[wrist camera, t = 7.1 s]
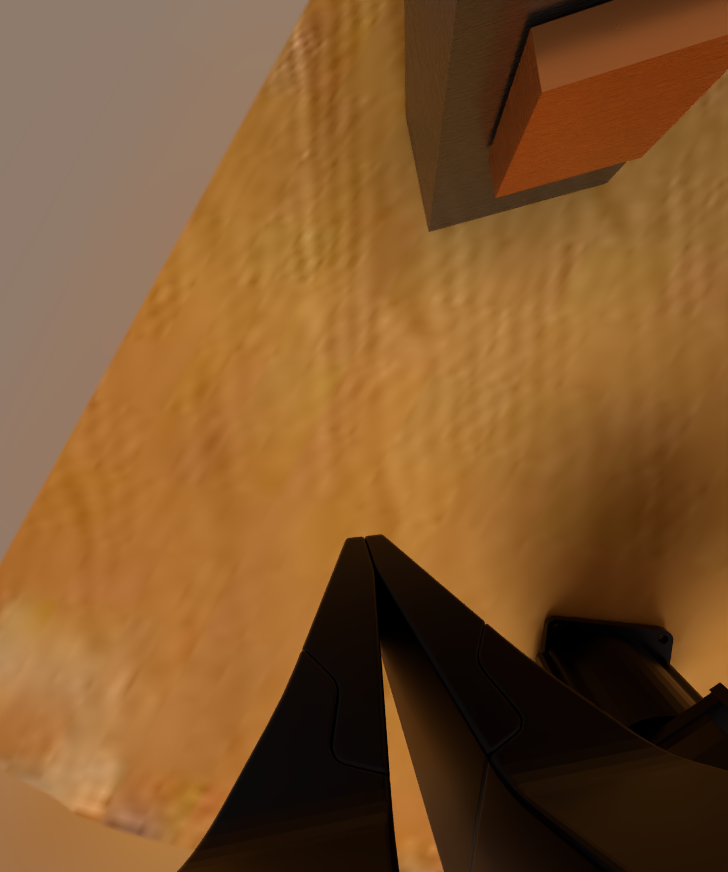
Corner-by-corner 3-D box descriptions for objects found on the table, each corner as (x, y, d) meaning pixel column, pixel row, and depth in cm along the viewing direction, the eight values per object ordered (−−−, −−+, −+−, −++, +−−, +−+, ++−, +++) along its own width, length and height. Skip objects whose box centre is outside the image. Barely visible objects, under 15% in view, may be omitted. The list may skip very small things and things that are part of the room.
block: (606, 182, 19) (952, -188, 7) (428, 231, 21) (458, -12, 8) (586, 57, 19) (920, -576, 7) (405, 114, 20) (400, -329, 8)
